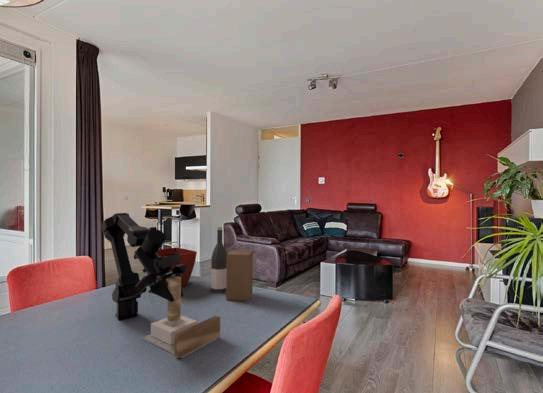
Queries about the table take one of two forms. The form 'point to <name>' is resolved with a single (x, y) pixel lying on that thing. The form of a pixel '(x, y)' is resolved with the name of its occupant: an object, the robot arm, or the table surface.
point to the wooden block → (239, 275)
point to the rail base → (190, 338)
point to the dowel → (174, 306)
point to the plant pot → (181, 261)
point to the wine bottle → (218, 265)
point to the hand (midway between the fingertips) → (177, 298)
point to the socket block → (170, 328)
